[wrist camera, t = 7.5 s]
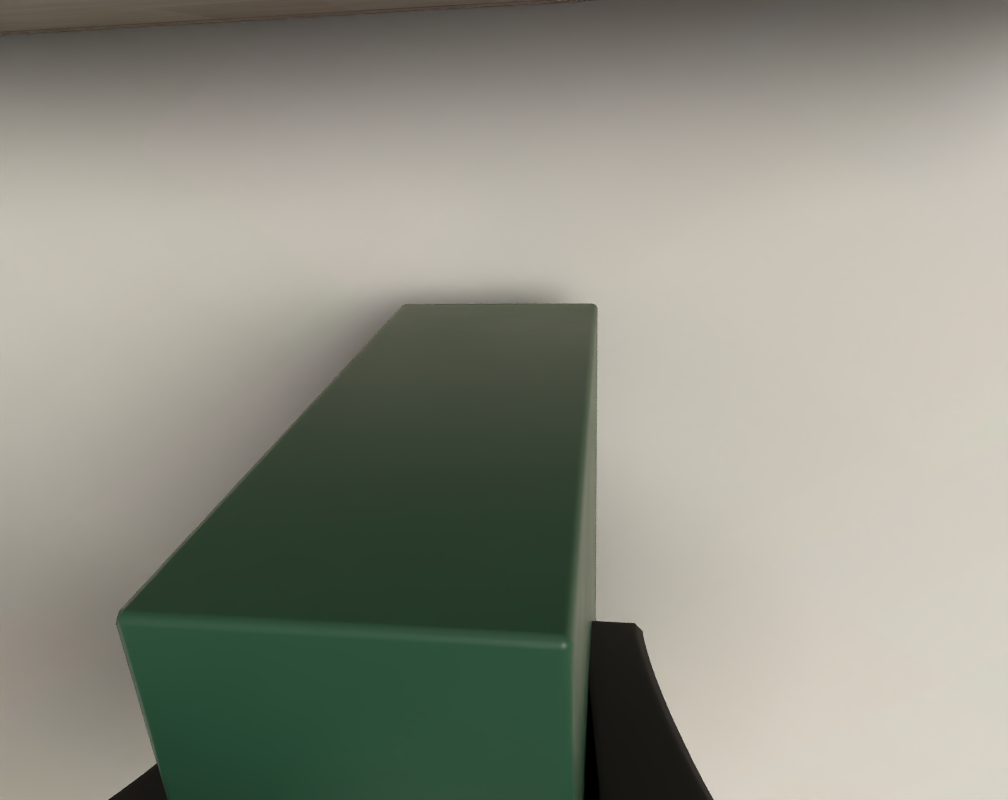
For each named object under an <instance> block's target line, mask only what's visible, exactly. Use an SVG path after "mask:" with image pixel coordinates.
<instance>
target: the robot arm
mask: <svg viewBox="0 0 1008 800" xmlns="http://www.w3.org/2000/svg"><path fill="white" fill-rule="evenodd" d="M109 800H168V799H167V796H166V792H165V789H164V786H163V782H162V779H161V775H160V772H159V769H158V765H157V764H156V765H154V766H153V767H152V768H150V769H149V770H148V771H147V772H145V773H144V774H143V775H141V776H140V777H139V778H137V779H136V780H135V781H133V782H132V783H131V784H129V785H128V786H127V787H125V788H124V789H123V790H121V791H120V792H119V793H117V794H116V795H114V796H113V797H111V798H110V799H109ZM588 800H713V798H712V796H711V794H710V793H709V791H708V789H707V787H706V785H705V783H704V782H703V780H702V778H701V776H700V774H699V772H698V770H697V768H696V766H695V764H694V762H693V760H692V758H691V756H690V754H689V752H688V750H687V748H686V746H685V744H684V742H683V739H682V737H681V735H680V733H679V731H678V729H677V727H676V725H675V723H674V721H673V718H672V716H671V714H670V712H669V709H668V707H667V705H666V702H665V700H664V697H663V695H662V692H661V690H660V687H659V685H658V682H657V680H656V677H655V674H654V671H653V669H652V666H651V663H650V660H649V656H648V653H647V649H646V646H645V642H644V638H643V632H642V630H641V629H640V628H639V627H638V626H637V625H636V624H635V623H619V622H600V621H592V626H591V643H590V662H589V766H588Z"/></svg>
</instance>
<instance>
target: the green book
mask: <svg viewBox="0 0 1008 800" xmlns="http://www.w3.org/2000/svg"><path fill="white" fill-rule="evenodd" d="M596 460H597V307H596V305H594V304H406V305H403V306H402V307H401V308H400V309H399V310H398V311H397V312H396V313H395V314H394V316H393V317H392V318H391V319H390V320H389V321H388V322H387V323H386V324H385V325H384V326H383V327H382V328H381V330H380V331H379V332H378V333H377V334H376V335H375V336H374V337H373V338H372V339H371V340H370V341H369V342H368V344H367V345H366V346H365V347H364V348H363V349H362V350H361V351H360V352H359V353H358V354H357V355H356V356H355V358H354V359H353V360H352V361H351V362H350V363H349V364H348V365H347V366H346V367H345V368H344V369H343V370H342V372H341V373H340V374H339V375H338V376H337V377H336V378H335V379H334V380H333V381H332V382H331V383H330V384H329V386H328V387H327V388H326V389H325V390H324V391H323V392H322V393H321V394H320V395H319V396H318V397H317V398H316V400H315V401H314V402H313V403H312V404H311V405H310V406H309V407H308V408H307V409H306V410H305V411H304V412H303V414H302V415H301V416H300V417H299V418H298V419H297V420H296V421H295V422H294V423H293V424H292V425H291V427H290V428H289V429H288V430H287V431H286V432H285V433H284V434H283V435H282V436H281V437H280V438H279V439H278V441H277V442H276V443H275V444H274V445H273V446H272V447H271V448H270V449H269V450H268V451H267V452H266V453H265V455H264V456H263V457H262V458H261V459H260V460H259V461H258V462H257V463H256V464H255V465H254V466H253V467H252V469H251V470H250V471H249V472H248V473H247V474H246V475H245V476H244V477H243V478H242V479H241V480H240V481H239V483H238V484H237V485H236V486H235V487H234V488H233V489H232V490H231V491H230V492H229V493H228V494H227V495H226V497H225V498H224V499H223V500H222V501H221V502H220V503H219V504H218V505H217V506H216V507H215V508H214V509H213V511H212V512H211V513H210V514H209V515H208V516H207V517H206V518H205V519H204V520H203V521H202V522H201V523H200V525H199V526H198V527H197V528H196V529H195V530H194V531H193V532H192V533H191V534H190V535H189V536H188V538H187V539H186V540H185V541H184V542H183V543H182V544H181V545H180V546H179V547H178V548H177V549H176V550H175V552H174V553H173V554H172V555H171V556H170V557H169V558H168V559H167V560H166V561H165V562H164V563H163V564H162V566H161V567H160V568H159V569H158V570H157V571H156V572H155V573H154V574H153V575H152V576H151V577H150V578H149V580H148V581H147V582H146V583H145V584H144V585H143V586H142V587H141V588H140V589H139V590H138V591H137V592H136V594H135V595H134V596H133V597H132V598H131V599H130V600H129V601H128V602H127V603H126V604H125V605H124V606H123V608H122V609H121V610H120V611H119V613H118V616H117V621H116V625H117V628H118V632H119V635H120V638H121V642H122V645H123V649H124V652H125V656H126V659H127V662H128V666H129V669H130V673H131V676H132V679H133V683H134V686H135V690H136V693H137V697H138V700H139V703H140V707H141V710H142V714H143V717H144V721H145V724H146V727H147V731H148V734H149V738H150V741H151V745H152V748H153V751H154V755H155V758H156V762H157V765H158V769H159V772H160V775H161V779H162V782H163V786H164V789H165V792H166V796H167V799H168V800H588V766H589V662H590V643H591V626H592V621H596Z"/></svg>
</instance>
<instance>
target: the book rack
mask: <svg viewBox="0 0 1008 800" xmlns="http://www.w3.org/2000/svg"><path fill="white" fill-rule="evenodd" d="M573 1H590V0H0V35H7V34H24V33H41V32H59V31H76V30H93V29H110V28H127V27H144V26H162V25H179V24H196V23H213V22H230V21H247V20H264V19H282V18H299V17H316V16H333V15H350V14H367V13H385V12H402V11H419V10H436V9H453V8H470V7H487V6H505V5H522V4H539V3H556V2H573Z"/></svg>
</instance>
